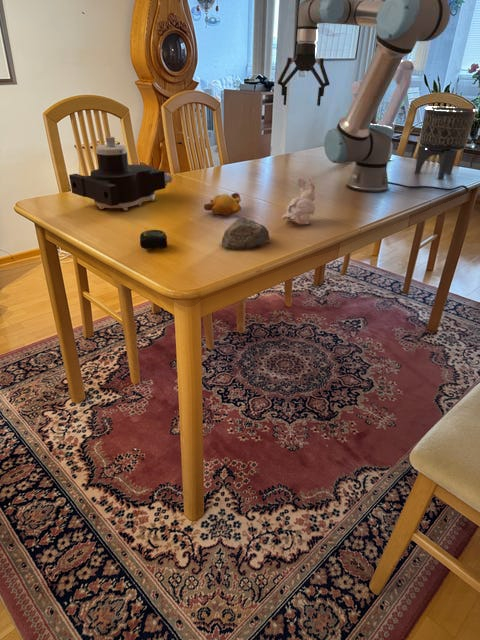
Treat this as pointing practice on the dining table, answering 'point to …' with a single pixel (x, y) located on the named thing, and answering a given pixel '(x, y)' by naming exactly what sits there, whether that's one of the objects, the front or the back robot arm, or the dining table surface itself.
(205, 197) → the dining table surface
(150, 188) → the mechanical component
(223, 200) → the toy
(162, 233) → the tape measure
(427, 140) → the planter
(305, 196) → the figurine
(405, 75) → the back robot arm
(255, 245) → the rock
